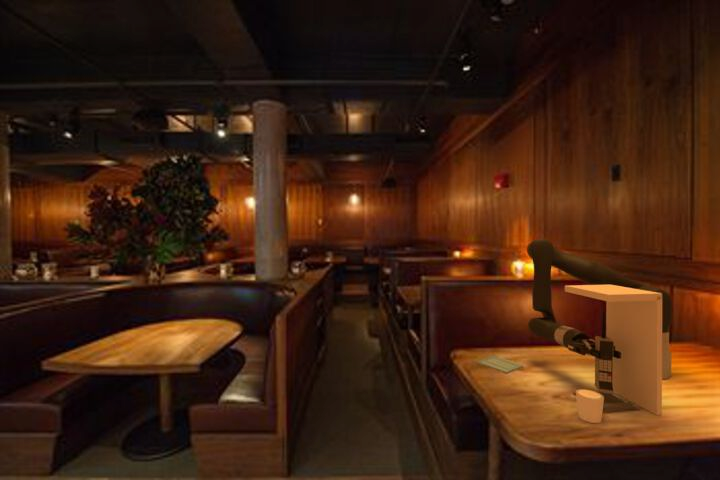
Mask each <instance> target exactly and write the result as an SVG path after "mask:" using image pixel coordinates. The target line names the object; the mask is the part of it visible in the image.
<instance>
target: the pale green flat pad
mask: <svg viewBox="0 0 720 480" xmlns="http://www.w3.org/2000/svg"><path fill="white" fill-rule="evenodd" d="M476 363H477V364H479V365H482V366H484V367H487V368H490V369H492V370H495V371H497V372H501V373H504V374H506V375H507V374H510V373H513V372H515V371H518V370H520V369H523V367H524V366H523V364H522V363H518V362H515V361H512V360H509V359H507V358H504V357H500V356H498V355H492V356H488V357H486V358H483V359H481V360H480V359H479V360H477V361H476Z"/></svg>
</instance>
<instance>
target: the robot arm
mask: <svg viewBox="0 0 720 480" xmlns="http://www.w3.org/2000/svg"><path fill="white" fill-rule="evenodd" d="M526 253H527V255H528V257H530V259H531V260H532V263H533V264H532V265H533V282H532V287H531V288H532V291H531V294H532V298H531V299H532V309H533V310H534V311H535V312H540V313H541V315H542V317H532V318H531V319H529V321H528V325H527V327H528V330H529V332H531V334H532V335H534V336H536V337H540V338H543V339H547V340H551V341H553V342H555V343H557V344H559V345H560V346H562V347H564V348H566V349H567V350H568V351H571V352H573V353H576V354H578V355H581V356H586V355H587V356H589V357H594V358H595V357H596V358H598V359H600V360H601V359H603V353H602V352H600V351H598V350H596V349H595V339H592V338H591V337H590V336H589V335H588V333H586V332H584V331H581V330H579V329H576V328H574V327H571V326H566V325H564V324H562V323H558V322H557V320H556V317H555V312H554V310H553V305H552V304H553V302H552V301H553V300H552V267H554V268H556V269H558V270H560V271H562V272H564V273H565V274H568V275H570V276H571V277H573V278H575V279H578V280H579V281H581V282H584V283H586V285H616V286H622V287H628V288H633V289H639V290H645V291H651V292H657V293H662V380H668V379H669V378H672V351H671V350H670V327H671V325H672V322H673V305H674V304H673V299H672V297H671V295H670V294H669V292H667V291H666V290H664V289H662V288H659V287H656V286H652V285H647V284H645V283H641V282H638V281H635V280H633V279H630V278H627V277H626V276H623V274H620V273H619V272H618V271H615V269H612V268H611V267H609V266H606V265H604V264H602V263H599V262H597V261H595V260H592V259H589V258H586V257H584V256H583V257H582V256H580V255H575V254H571V253H569V252H565V251H562V250H560V249H558V248H556V247H554V244H553V243H552V241H550V240H549V239H547V238H544V237H543V238H542V237H540V238H537V239H534V240H532V241H531V242H530V243H528V245H527V247H526ZM613 357H615V358H617V359H621V352H620V351H617V350H615V346H614V349H613Z"/></svg>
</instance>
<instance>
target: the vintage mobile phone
mask: <svg viewBox="0 0 720 480" xmlns="http://www.w3.org/2000/svg"><path fill="white" fill-rule="evenodd" d="M594 340H595V349H596V350H598V351H600V352H602V353H603V359H601V360H600V359H598V358H596V357H594V386H595V388H596V389H597V390H598V391H597V392H600V393H607V394H612V395H614V392H613V384H612V377H613V349H614V342H613V341H612V340H611V339H610V338H609V337H606V311H605V312H604V311H602V326H601V335H595V337H594Z"/></svg>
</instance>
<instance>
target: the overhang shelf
mask: <svg viewBox="0 0 720 480" xmlns="http://www.w3.org/2000/svg"><path fill="white" fill-rule="evenodd" d="M564 292H565V293H570V294H574V295H580V296H583V297H588V298H592V299H594V300H595V299H596V300H601V301H605V303H606V305H605V307H606V311H605V336H606V337H609V338H610V339H611V340H612V341H613V342H614V346H615V350H617V351H620V352H621V359H617V358H615V357H613V377H612V384H613V393H614V394H617V395H619V396H620V397H622V396H623V397H622V398H624V399H625V400H627V401H624V400H622V398H619V397H618V396H616V395H614V394H607V393H600V392H599V391H597V392H598V393H600V394H601V395H603V396H604V403H603V411H602V414H605V413H621V412H623V413H624V412H637V411H640V409H639V408H638V407H636V406H635V405H637V406H639V407H642V409H645V410H647V411H648V412H650V413H652V414H654V415H655V416H662V415H663V379H662V293H657V292H651V291H645V290H639V289H633V288H628V287H622V286H616V285H590V284H582V285H579V284H578V285H577V284H576V285H564ZM572 394H573V395H574V396H576V392H573V393H572ZM629 401H630V402H629Z"/></svg>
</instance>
